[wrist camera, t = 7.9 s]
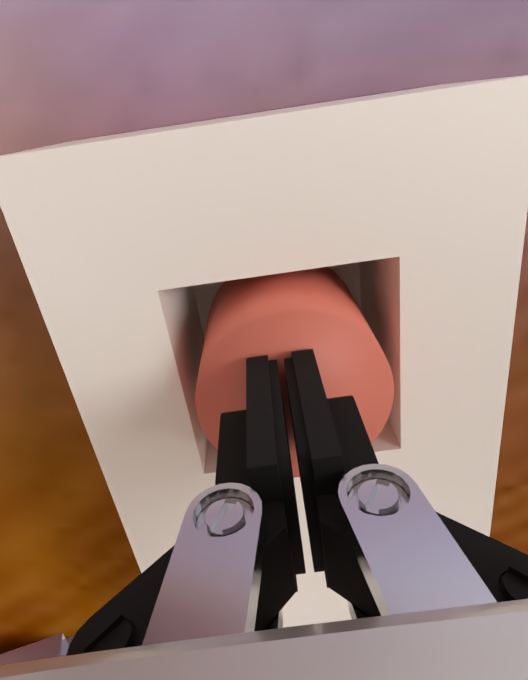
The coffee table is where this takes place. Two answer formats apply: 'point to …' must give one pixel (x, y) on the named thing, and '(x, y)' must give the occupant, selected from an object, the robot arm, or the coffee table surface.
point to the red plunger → (291, 346)
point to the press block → (280, 257)
